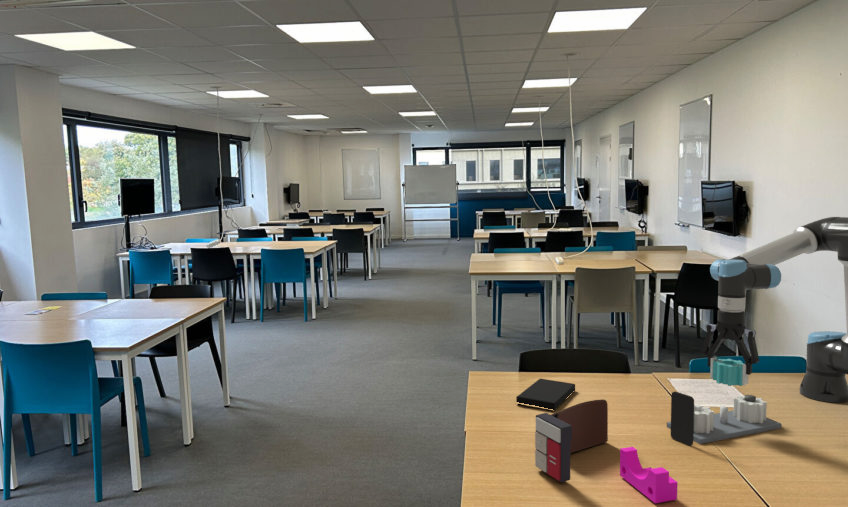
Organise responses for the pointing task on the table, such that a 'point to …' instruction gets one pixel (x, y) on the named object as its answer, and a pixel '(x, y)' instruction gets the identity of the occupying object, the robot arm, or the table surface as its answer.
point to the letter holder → (586, 423)
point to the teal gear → (728, 372)
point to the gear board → (731, 420)
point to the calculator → (553, 446)
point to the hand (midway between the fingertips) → (728, 380)
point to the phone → (682, 418)
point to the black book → (546, 393)
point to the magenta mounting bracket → (647, 477)
